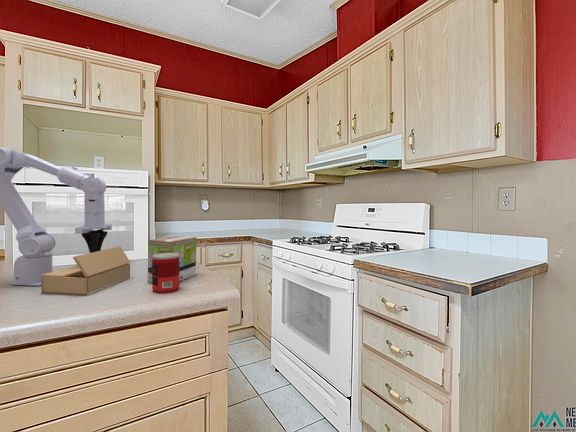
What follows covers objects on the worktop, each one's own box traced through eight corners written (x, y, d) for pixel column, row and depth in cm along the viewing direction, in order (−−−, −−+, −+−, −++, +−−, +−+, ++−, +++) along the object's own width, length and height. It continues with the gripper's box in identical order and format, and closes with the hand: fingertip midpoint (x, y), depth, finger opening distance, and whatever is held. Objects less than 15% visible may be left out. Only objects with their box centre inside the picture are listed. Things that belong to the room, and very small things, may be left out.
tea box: (173, 285, 96) (173, 240, 96) (146, 283, 98) (146, 239, 98) (196, 274, 111) (197, 236, 110) (172, 272, 113) (173, 234, 112)
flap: (72, 257, 84) (75, 256, 84) (118, 247, 103) (120, 246, 103) (85, 277, 84) (87, 276, 84) (128, 263, 103) (130, 262, 103)
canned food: (184, 287, 94) (184, 253, 93) (166, 294, 86) (166, 258, 86) (165, 285, 96) (165, 251, 96) (146, 291, 89) (146, 256, 88)
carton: (41, 293, 85) (41, 274, 85) (92, 276, 105) (92, 261, 105) (86, 295, 84) (86, 276, 84) (129, 278, 104) (129, 262, 103)
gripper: (89, 214, 92) (89, 256, 93) (119, 212, 106) (119, 249, 107) (68, 213, 93) (69, 256, 93) (101, 212, 107) (101, 249, 108)
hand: (94, 252), depth 100 cm, fingers closed
